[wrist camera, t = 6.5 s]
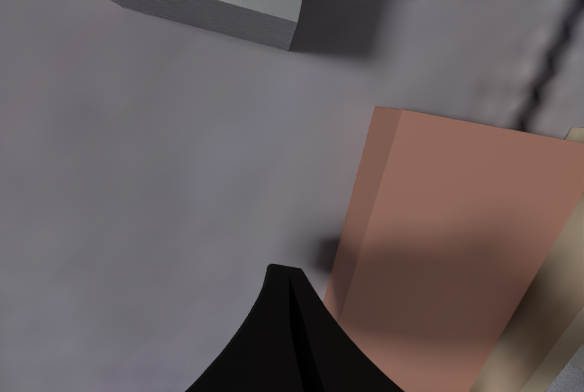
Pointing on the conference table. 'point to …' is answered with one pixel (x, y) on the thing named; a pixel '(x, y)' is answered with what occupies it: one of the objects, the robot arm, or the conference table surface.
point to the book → (446, 241)
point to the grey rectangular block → (230, 17)
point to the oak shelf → (543, 316)
